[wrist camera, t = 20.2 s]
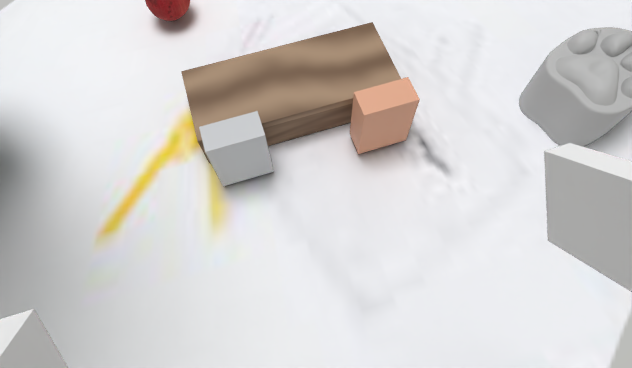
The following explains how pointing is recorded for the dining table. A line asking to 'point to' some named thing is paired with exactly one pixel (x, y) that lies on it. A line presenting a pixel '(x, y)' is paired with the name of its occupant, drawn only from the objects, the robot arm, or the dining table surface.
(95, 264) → the dining table surface
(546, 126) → the lumpy-topped squat cylinder
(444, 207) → the dining table surface
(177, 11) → the red oval fruit
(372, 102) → the peach rectangular block
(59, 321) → the dining table surface
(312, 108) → the plunger housing
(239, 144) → the grey plunger
